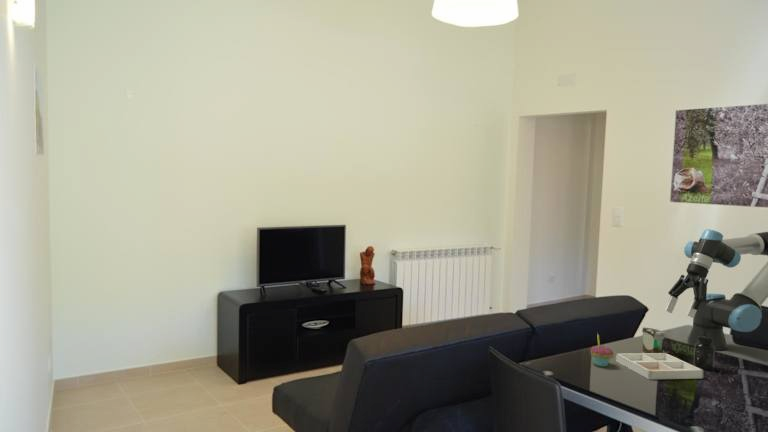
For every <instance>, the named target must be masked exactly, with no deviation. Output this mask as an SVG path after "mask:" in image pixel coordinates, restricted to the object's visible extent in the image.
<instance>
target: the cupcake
mask: <svg viewBox="0 0 768 432" xmlns="http://www.w3.org/2000/svg"><path fill="white" fill-rule="evenodd" d="M596 333H597V336H596V337H597V339H596V340H597V345H595V346H593V347H591V348H590V349H589V354H590V355H591V356H592V358H593V360H592V361H593V362H594V365H596V366H599V367H608V365H609V362H610V360H611V359H613V358H614V355H615V354H614V351H613V350H612V349H611V348H610V347H608V346H605V345H600V344H601V342H600V335H599V333H598V332H596Z"/></svg>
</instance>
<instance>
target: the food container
mask: <svg viewBox="0 0 768 432" xmlns="http://www.w3.org/2000/svg"><path fill="white" fill-rule="evenodd" d="M641 333H642V343H641V344H642V347H641V348H642V349H641V350H642V352H641V353H662V350H663V348H662V347H663V342H664V341H663V340H664V339H665V338H666V337H665V332H664V331H662V330H660V329H657V328H651V327H642V330H641Z"/></svg>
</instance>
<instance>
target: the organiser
mask: <svg viewBox="0 0 768 432" xmlns="http://www.w3.org/2000/svg"><path fill="white" fill-rule="evenodd" d="M615 362H616V363H619V364H620V365H622V366H624V367H625V366H626V368H627V367H628V368H627V369H629V370H632V371H633V372H634V373H637V374H638V375H640V376H642V377H644V378H645V379H648V380H685V379H686V380H687V379H688V380H689V379H694V380H695V379H704V372H705V370H702V369H700V368H698V367H695V366H694V364H691V363H689V362H686V361H684V360H682V359H680V358H678V357H675V356H673V355H671V354H668V353H666V352H661V353H644V352H640V353H638V352H637V353H636V352H635V353H629V352H628V353H615Z"/></svg>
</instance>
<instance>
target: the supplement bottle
mask: <svg viewBox="0 0 768 432" xmlns="http://www.w3.org/2000/svg"><path fill="white" fill-rule="evenodd" d="M698 341H699V342H698V343H696V344H695V347H694V350H693V352H694V353H693V354H694V355H693V366H695V367H698V368H700V369H702V370H704V371H713V370H714V368H715V353H716V350H715V347H714V345H712V343H713V338H712V337H709V336H698Z"/></svg>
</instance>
